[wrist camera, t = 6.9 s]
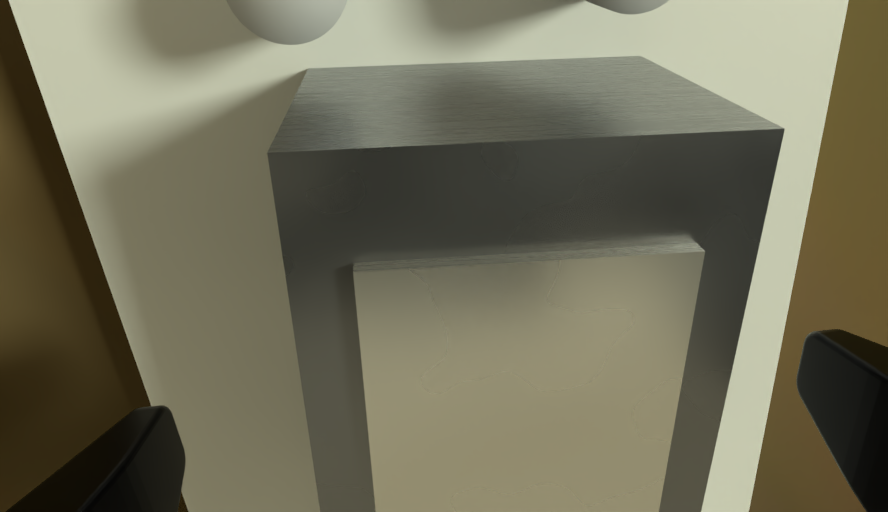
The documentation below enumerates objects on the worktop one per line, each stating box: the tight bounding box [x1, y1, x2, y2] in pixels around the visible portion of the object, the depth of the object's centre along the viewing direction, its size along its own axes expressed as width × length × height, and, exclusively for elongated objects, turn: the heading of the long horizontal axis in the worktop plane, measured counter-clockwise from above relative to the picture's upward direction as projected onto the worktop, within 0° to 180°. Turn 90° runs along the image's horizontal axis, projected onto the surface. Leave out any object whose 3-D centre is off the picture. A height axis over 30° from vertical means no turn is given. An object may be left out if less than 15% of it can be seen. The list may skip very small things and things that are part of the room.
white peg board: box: [9, 0, 849, 512], centre depth 11 cm, size 12×16×3 cm
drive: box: [267, 56, 785, 512], centre depth 10 cm, size 5×8×4 cm, turn 1°
